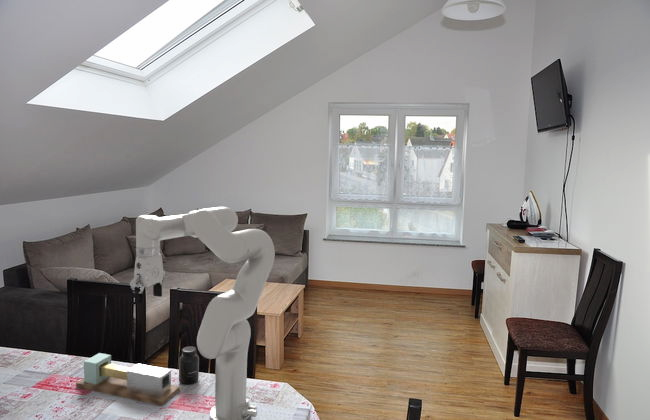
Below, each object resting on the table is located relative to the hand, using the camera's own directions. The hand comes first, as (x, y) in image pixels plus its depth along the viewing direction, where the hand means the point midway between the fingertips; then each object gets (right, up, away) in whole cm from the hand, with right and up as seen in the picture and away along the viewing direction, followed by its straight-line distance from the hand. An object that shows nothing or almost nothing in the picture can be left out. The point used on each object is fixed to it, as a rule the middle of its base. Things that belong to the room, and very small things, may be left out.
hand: (148, 300), depth 154 cm
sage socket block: (-19, -28, +2) cm, 34 cm away
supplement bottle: (+12, -30, +6) cm, 33 cm away
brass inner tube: (-9, -26, -1) cm, 28 cm away
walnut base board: (-7, -30, -1) cm, 31 cm away
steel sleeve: (+2, -29, -4) cm, 30 cm away
